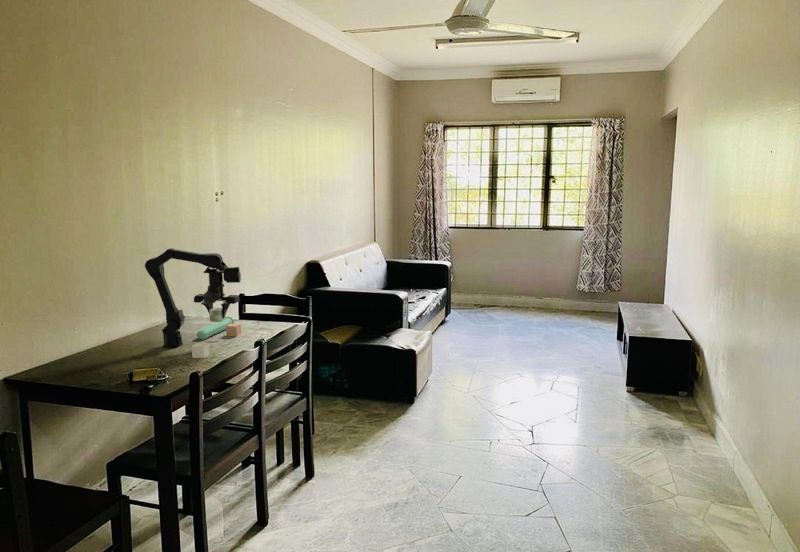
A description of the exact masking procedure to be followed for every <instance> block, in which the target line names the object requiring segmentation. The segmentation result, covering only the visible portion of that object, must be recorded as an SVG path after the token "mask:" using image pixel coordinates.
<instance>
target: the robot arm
mask: <svg viewBox="0 0 800 552" xmlns="http://www.w3.org/2000/svg"><path fill="white" fill-rule="evenodd" d="M171 259H173V260H180V261H184V262H185V261H186V262H190V263H198V264H200V265H202V266H204V267H206V269H204V271H203V274H208V284H209V285H208V286H207V290H206V291H205V292H204V293H198V294H196V295H194V297H193V303H196V304H197V303H200V304H201V305H203V306H204V307H205V308H206V310H207V313H209V310H211V309H213V308H214V304H215V303H216V302H222V303H221V304H220V306H221V308H222V318H225V316H226V315H227V312H228V309H229V308H230V305H231V304H232V305H233V304H234V305H236V304H237V303H239V302H240V299H241V298H240V296H239V295H238V294H229V295H228V296H225V295H226V294H225V292H224V287H225V284H224V282H226V284H227V283H228V284H229V283H230V284H231V283H232V284H234V283H235V284H236V283H238V284H239V283H241V282H242V281H241V280H242V278H241V277H242V274H241V270H240V266H233V267H228V265H227V264H226V263H225V262H224V260H223V256H222V255H221V254H220V253H216V252H215V253H214V252H213V253H209V252H207V253H200V252H199V253H198V252H193V251H187V250H181V249H175V248H167V249H166V250H165V251H164V252H163V253H160V255H158V256H156V257H151V258H150V259H148V260H146V261H145V264H144V269H145V270H146V272H147V274H148V275H149V277H151V279H152V280H153V281H154V283H155V286H156V288H157V289H156V290H157V292H158V293H159V297H160V299H161V302H162V305H163V307H164V310H165V319H166V321H165V322H166V325H165V327H163V328H162V329H161V331H162V335H163V336H162V337H163V345H162V346H161V348H174V349H175V348H178V347H180V346H182V345H183V344H184V342H183V341H182V339H183V338H182V334H181V331H180V328H181V327H182V326H183V325H184V324H185V319H186V316H185V315H184V313H183V309H181V308H180V309H179V308H178V307H177V306H176V303H175V301H174V299H173V296H172V294H171V290H170V288H169V285H168V283H167V280H166V277H165V267H164V266H165V265H164V264H165V263H167V262H169V261H170V260H171Z"/></svg>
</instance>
